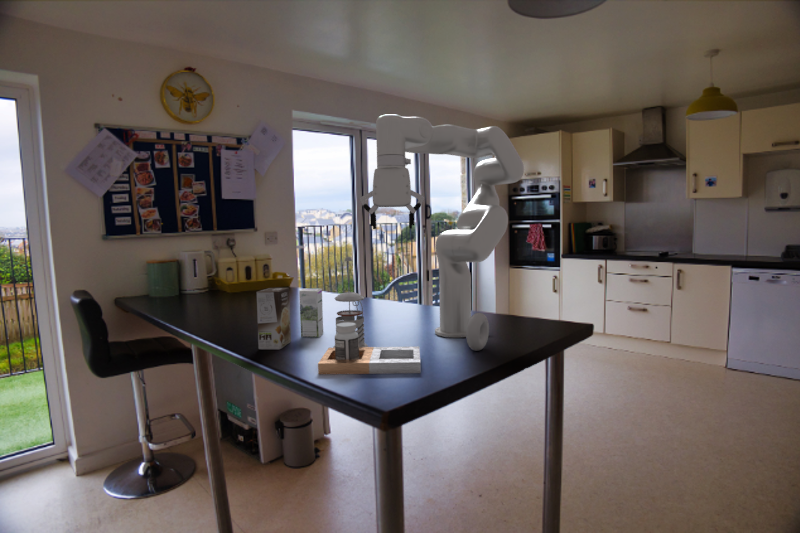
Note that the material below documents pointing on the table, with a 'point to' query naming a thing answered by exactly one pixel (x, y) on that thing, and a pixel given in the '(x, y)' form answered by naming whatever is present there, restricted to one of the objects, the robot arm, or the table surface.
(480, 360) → the table surface
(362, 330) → the french press
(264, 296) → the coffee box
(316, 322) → the syrup box
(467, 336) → the donut
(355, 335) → the pill bottle
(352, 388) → the table surface
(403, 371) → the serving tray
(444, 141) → the robot arm
